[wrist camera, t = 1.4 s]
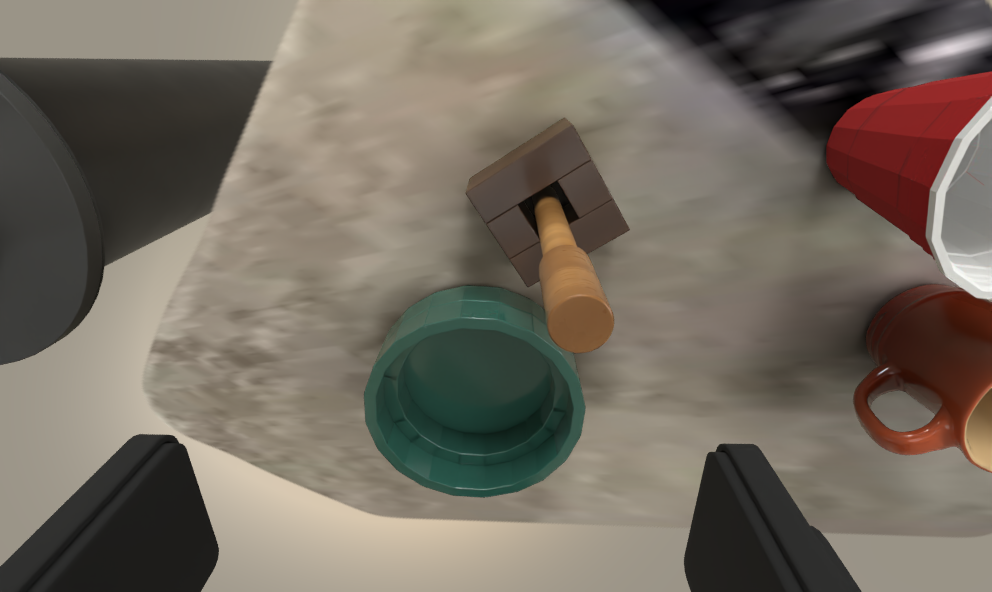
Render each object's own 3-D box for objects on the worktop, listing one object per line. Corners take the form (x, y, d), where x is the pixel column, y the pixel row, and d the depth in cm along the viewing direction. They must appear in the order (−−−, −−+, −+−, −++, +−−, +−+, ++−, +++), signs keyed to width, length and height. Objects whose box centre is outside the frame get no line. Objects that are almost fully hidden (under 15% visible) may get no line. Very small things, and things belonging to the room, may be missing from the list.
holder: (469, 178, 33) (464, 192, 29) (564, 117, 31) (572, 124, 27) (525, 264, 35) (527, 287, 31) (616, 211, 33) (630, 230, 30)
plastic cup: (941, 222, 33) (1155, 299, 22) (773, 231, 34) (900, 312, 23) (999, 36, 29) (1301, 20, 18) (803, 50, 29) (981, 43, 18)
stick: (520, 190, 33) (535, 315, 16) (550, 171, 32) (594, 282, 16) (538, 218, 34) (567, 364, 17) (567, 200, 33) (626, 335, 17)
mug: (969, 246, 34) (1145, 316, 25) (985, 347, 37) (1146, 443, 28) (788, 320, 36) (885, 409, 27) (818, 408, 40) (914, 515, 30)
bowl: (343, 343, 38) (318, 385, 33) (509, 245, 34) (509, 276, 29) (453, 470, 43) (446, 524, 38) (607, 396, 39) (622, 444, 34)
